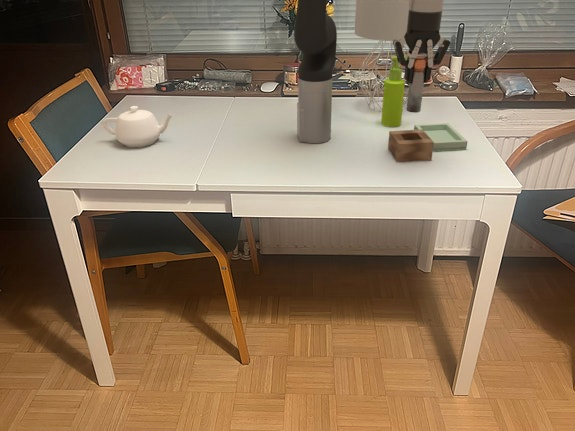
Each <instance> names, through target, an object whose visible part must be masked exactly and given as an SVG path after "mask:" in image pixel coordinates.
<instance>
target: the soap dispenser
mask: <svg viewBox="0 0 575 431" xmlns="http://www.w3.org/2000/svg"><path fill="white" fill-rule="evenodd" d="M404 58H405V60H406V58H407V55H406V56H405V55H404ZM392 60H393V63H392V64H393V65H392V66H390V67H389V72H390V73H389V72H388V73H389V74H388V75H389V76H388V77H389V78H388V77H387V78H388V79H385V78H384V79H385V80H384V82H383V83H384V84H383V88H384V89H383V94H382V105H381V106H382V107H381V108H382V110H381V111H382V112H381V120H380V123H381V125H382V126H384V127H387V128H396V127H399V126H401V125H402V118H403V117H402V115H403V108H404V107H403V106H404V105H403V103H404V102H403V100H404V98H405V93H404V92H405V86H406V83H405V82H406V80H405V79H404V80H403V78H402V72H403V70H402V67H401V66H400V67H399V64H400V63H399V62H398V59H397V56H396V55H392Z"/></svg>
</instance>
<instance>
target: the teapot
mask: <svg viewBox="0 0 575 431" xmlns="http://www.w3.org/2000/svg"><path fill="white" fill-rule="evenodd" d="M129 109H130V110H128V111H124V112H122V113H120V114H119V115H118V116H117V117H108V118H104V119H103V120H102V121H101V126H102V128H104V130H105V131H107V132H108V133H109V134H111V135H114V136H115V138H116V140H117V141H118V142H119V143H121V144H122V145H124V146H126V147H127V148H128V147H129V148H143V147H148V146H150V145H152V144H154V143H155V142H156V141H157V140H158V138H159V137H160V135H162V134H163V133H164V132H165V131H166V129H167V128H168V126H169V122H170V119H171V118H172V117H174V114H171V113H169V114H167V115H166V117H165V119H164V122H163V123H162V124H161V125H159V122H158V120H157V118H156V117H155V115H154V114H153V113H152V112H151V111H149V110H147V109H146V110H145V109H139V106H137V105H133V106H130V108H129ZM108 122H109V123H110V122H115V129H113V128H111V127H110V126H109V125H108Z"/></svg>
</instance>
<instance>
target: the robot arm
mask: <svg viewBox="0 0 575 431" xmlns="http://www.w3.org/2000/svg"><path fill="white" fill-rule="evenodd" d="M443 8H444V0H410V2H409V13H408V23H407V32H406V34H405V36H404V38H402V39H399V40H394V41H392V46H393V47H394V51H395V56H397V59H398V62H399V64H400V66H401V67H404V71H405V72H404V74H403V77H404V80H405V82H407V84H409V83H411V82H412V73H413V68H412V67H413V64H414V61H415V59H416V57H417V56H418V55H419V54H423V57H426V58H427V63H426V71H425V79H424V84H425V83H426V84H427V83H428V82H429V81H430V80H431V78H432V77H431V75H432V69H433V67H434V66H436V65H437V66H440V65H441V63H442V61H443V59H444V58H445V55H446V53H447V51H448V49H449V47H450V45H451V41H450V40H449V39H447V38H443V37H441V34H440V29H441V23H442V15H443ZM294 21H295V22H294V29H293V37H294V42H295V45H296V47H297V49H298V50H299V51H300V53H302V58H301V60H300V64H299V65H298V70H297V72H298V73H297V77H298V78H297V80H298V82H297V84H298V85H297V86H298V87H297V89H298V90H297V97H298V98H297V104H296V114H297V115H296V116H297V117H296V122H297V124H296V128H297V129H296V133H297V138H298V142H299V143H309V144H322V143H326V142H328V141H330V140H331V138H332V136H331V134H332V108H333V106H332V105H333V104H332V103H333V101H332V100H333V75H334V74H333V73H334V69H335V64H336V55H337V43H338V42H337V41H338V40H337V39H338V37H337V36H338V33H337V32H338V31H337V26H336V23H335V21H334V19H333V18H332V17H331V16H330V15H329V14H328V13H327V0H297V7H296V14H295V20H294ZM405 44H406V46H407V47H408V49H407V51H408V53H407V52H406V54H407V55H406V56H407V58H406V60H405V58H404V56H405V54H404V52H403V50H404V49H405V48H404V46H405ZM436 45H438V47H437V50H436V52H435V53H434V51H433V50H434V48H435V47H436ZM402 49H403V50H402Z"/></svg>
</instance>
